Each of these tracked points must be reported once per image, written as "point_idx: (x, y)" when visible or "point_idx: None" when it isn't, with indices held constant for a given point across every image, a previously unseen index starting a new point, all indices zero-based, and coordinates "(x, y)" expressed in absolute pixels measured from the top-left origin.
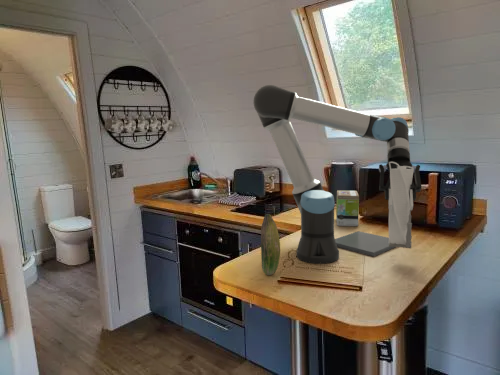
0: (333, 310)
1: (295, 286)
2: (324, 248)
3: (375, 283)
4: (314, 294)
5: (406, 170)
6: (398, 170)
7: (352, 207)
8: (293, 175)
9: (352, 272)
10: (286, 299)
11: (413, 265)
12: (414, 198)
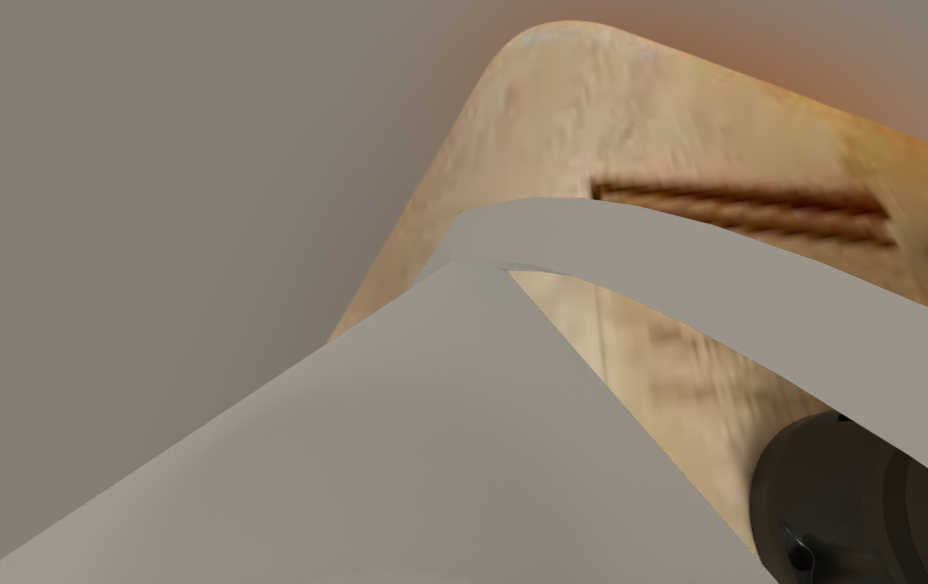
0: (649, 65)
1: (806, 180)
2: (853, 426)
3: None
4: (727, 138)
5: (180, 465)
6: (580, 419)
7: None
8: None
9: (646, 338)
10: (791, 99)
11: None
12: None
